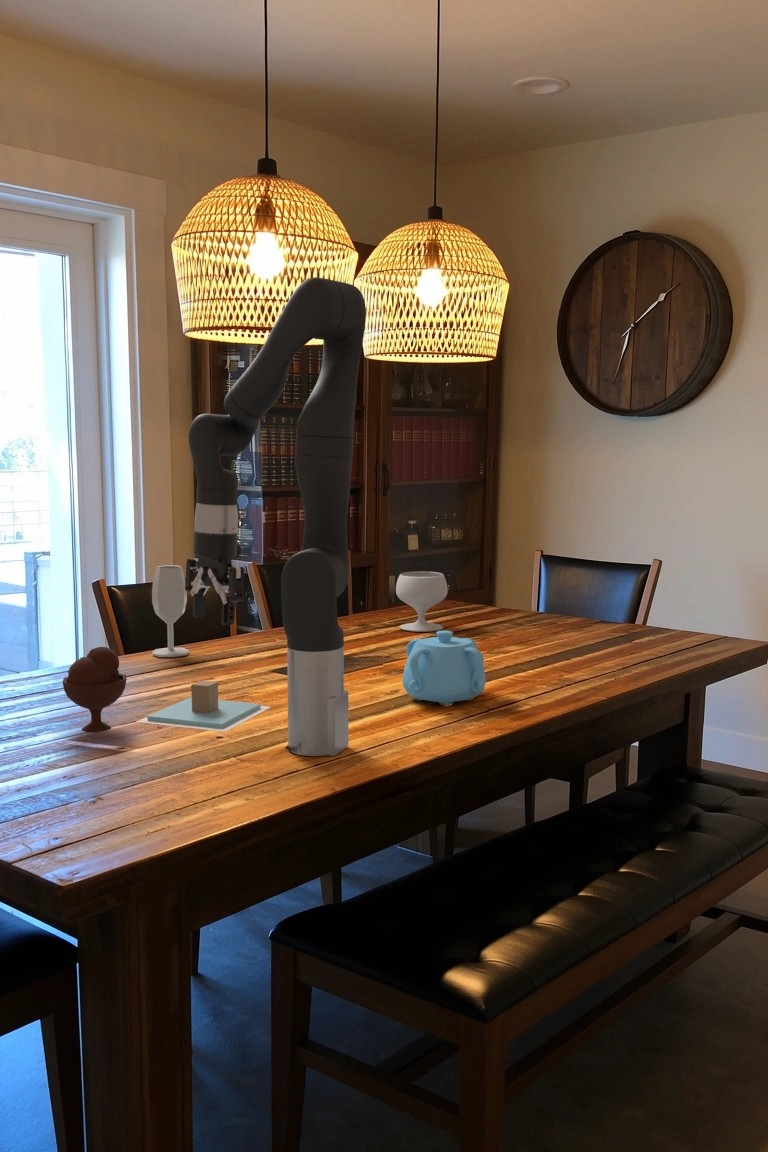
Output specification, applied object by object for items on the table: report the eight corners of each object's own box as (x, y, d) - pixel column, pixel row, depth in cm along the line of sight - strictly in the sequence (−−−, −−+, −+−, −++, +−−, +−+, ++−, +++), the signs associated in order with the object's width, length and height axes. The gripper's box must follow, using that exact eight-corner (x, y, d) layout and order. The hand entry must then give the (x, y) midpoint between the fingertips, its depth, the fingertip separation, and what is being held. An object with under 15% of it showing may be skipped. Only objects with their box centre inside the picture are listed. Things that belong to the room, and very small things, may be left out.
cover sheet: (260, 708, 196) (260, 677, 195) (221, 728, 182) (221, 696, 181) (190, 701, 201) (189, 671, 200) (147, 720, 187) (146, 688, 186)
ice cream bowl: (102, 720, 190) (100, 638, 188) (141, 730, 183) (139, 646, 181) (51, 732, 181) (48, 647, 180) (89, 744, 174) (86, 656, 172)
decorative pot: (485, 711, 197) (486, 640, 196) (400, 708, 199) (401, 638, 197) (484, 690, 213) (485, 625, 212) (406, 688, 215) (406, 623, 213)
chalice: (444, 624, 290) (444, 570, 288) (449, 633, 276) (450, 577, 274) (394, 624, 289) (394, 570, 287) (397, 633, 275) (397, 577, 273)
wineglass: (186, 650, 253) (185, 564, 250) (192, 657, 245) (190, 568, 242) (150, 652, 250) (147, 565, 248) (154, 659, 242) (151, 569, 239)
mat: (271, 710, 197) (271, 706, 197) (225, 735, 180) (225, 731, 180) (187, 701, 203) (187, 698, 203) (135, 725, 186) (135, 721, 186)
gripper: (258, 533, 180) (254, 625, 182) (209, 525, 190) (206, 612, 192) (223, 534, 175) (219, 629, 177) (174, 526, 185) (172, 616, 187)
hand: (212, 620), depth 185 cm, fingers open, 8 cm apart
